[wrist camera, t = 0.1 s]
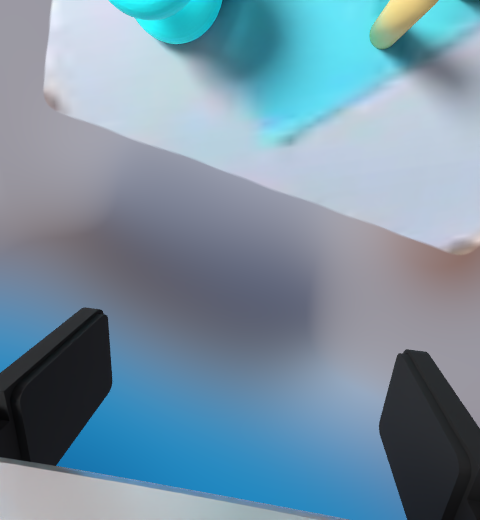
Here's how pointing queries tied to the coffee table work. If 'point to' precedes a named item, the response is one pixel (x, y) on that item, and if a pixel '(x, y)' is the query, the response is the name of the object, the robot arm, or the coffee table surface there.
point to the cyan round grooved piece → (172, 17)
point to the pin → (397, 20)
